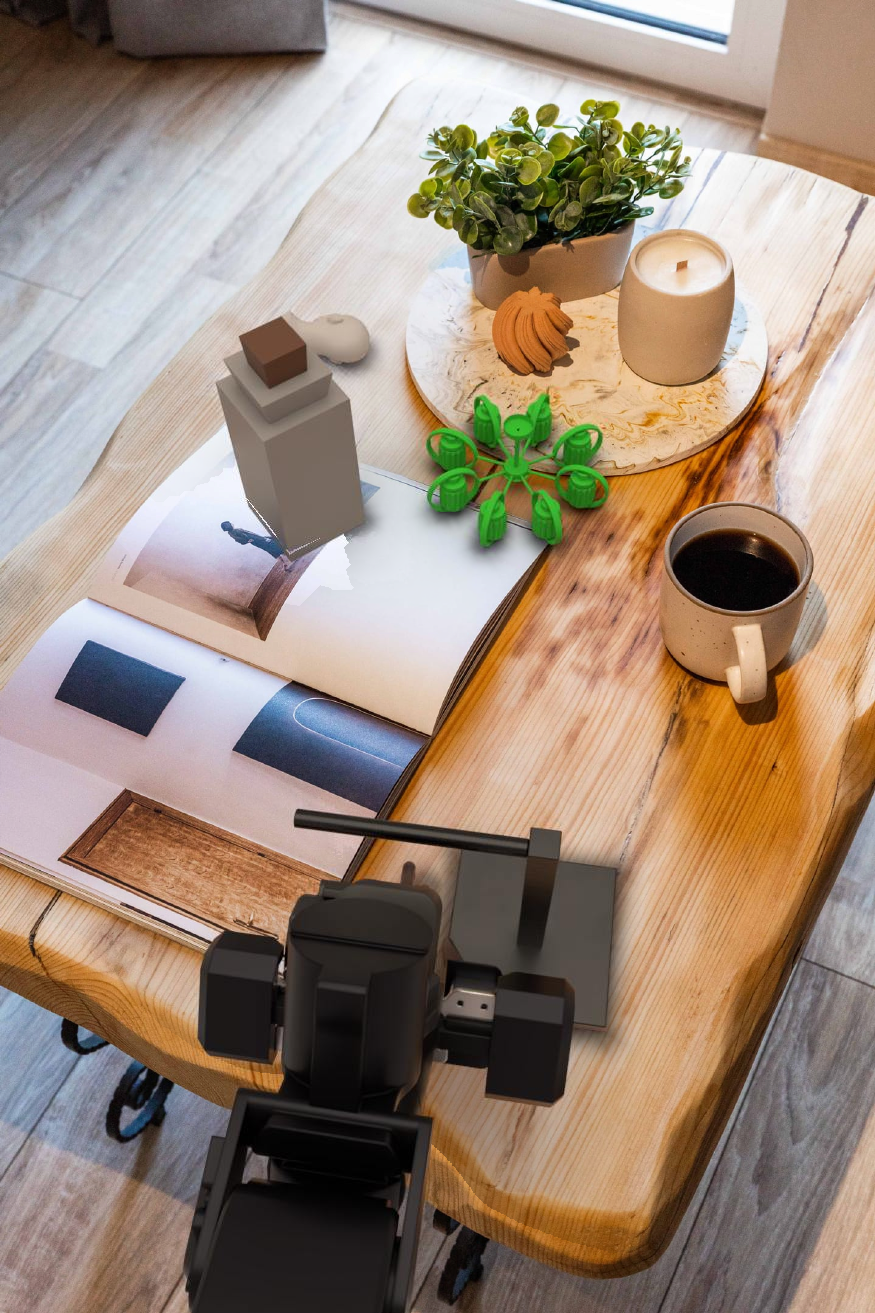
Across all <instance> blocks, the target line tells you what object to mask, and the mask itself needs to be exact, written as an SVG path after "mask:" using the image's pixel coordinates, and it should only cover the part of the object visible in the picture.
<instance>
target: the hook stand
mask: <svg viewBox="0 0 875 1313" xmlns="http://www.w3.org/2000/svg"><path fill="white" fill-rule="evenodd" d="M293 827H294V828H296V829H301V830H303V829H304V830H310V831H316V832H325V833H332V834H339V835H340V834H341V835H349V836H356V837H363V838H370V839H379V840H385V841H393V842H401V843H408V844H415V845H423V846H430V847H438V848H447V849H453V850H460V855H459V863H458V871H457V876H456V883H455V889H454V897H453V903H452V910H451V916H450V924H449V931H448V937H447V938H451V939H452V941H453V943H454V944H455V946H456V948H457V950H458V951H459V953H460V955H461V957H462V958H463V960H464V961H469V962H476V963H483V964H490V965H494V966H496V967H498V968H499V969H500V970H501V972H502V975H505V974H508V973H511V972H514V971H516V972H523V973H530V974H537V975H544V976H551V977H558V978H565V979H566V980H567V981H568V982H569V983H570V985H571V986H572V987H573V988H574V989H575V1014H574V1025H573V1029H574V1028H575V1029H581V1030H586V1031H587V1030H588V1031H594V1032H602V1033H603V1032H605V1030H606V1027H607V1021H608V1007H609V1006H608V1004H609V991H610V979H611V978H610V976H611V963H612V962H611V961H612V948H613V933H614V932H613V931H614V916H615V903H616V891H617V890H616V887H617V873H618V869H617V868H616V867H610V866H602V865H595V864H587V863H580V862H572V861H565V860H560V857H561V846H562V838H563V831H562V830H558V829H550V828H542V827H534V826H531V827H530V829H529V838H528V837H520V836H513V835H505V834H497V833H489V832H481V831H475V830H474V831H473V830H467V829H459V828H458V829H457V828H452V827H451V828H450V827H443V826H436V825H435V826H434V825H427V824H419V823H414V822H413V823H412V822H405V821H397V820H389V819H381V818H374V817H367V816H358V815H350V814H345V813H344V814H342V813H337V812H336V813H335V812H329V811H328V812H327V811H320V810H312V809H305V808H296V809H295V812H294V815H293Z"/></svg>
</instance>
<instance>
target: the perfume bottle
mask: <svg viewBox="0 0 875 1313" xmlns="http://www.w3.org/2000/svg"><path fill="white" fill-rule="evenodd" d="M238 340H239V343H240V344H241V348H242V349H241V350H239V351H237V352H235V353H232V354H230V355H228V356H227V357H224V358H222V361H223V363H224V364H225V366H226V368H227V369H228V371H229V373H230V374H229V375H227V376H225V377H223V378H221V379H219V380H216V381H215V387H216V390H217V393H218V397H219V401H220V405H221V409H222V412H223V417H224V420H225V425H226V428H227V431H228V435H229V440H230V442H231V446H232V450H233V454H234V457H235V461H236V466H237V468H238V473H239V477H240V480H241V484H242V488H243V491H244V495H245V499H246V498H247V499H248V500H249V501H248V500H247V499H246V503H247V506H248V508H249V510H251V512H252V513H253V515H254V516H255V517H256V519H257V520H258V521H259V522H260V524H261V525H262V527H263V528H264V529H265V530H266V531H267V533H268V534H269V535H270V537H271V538H272V539H273V541H274V542H275V543H276V545H277V546H278V547H279V549H280V550H281V551H282V552H283V554H284V555H285V557H286V558H287V559H288V560H289V562H290V563H293V562H295V561H297V560H298V559H300V558H302V557H304V556H306V555H308V554H310V553H312V552H313V551H316V550H317V549H319V548H321V547H322V546H324V545H326V544H328V543H330V542H332V541H333V540H335V539H337V538H339V537H341V536H343V535H345V534H346V533H348V532H351V531H353V530H354V529H356V528H358V527H360V526H361V525H363V524H365V523H366V516H365V507H364V500H363V499H364V498H363V492H362V484H361V476H360V469H359V467H360V466H359V461H358V460H359V459H358V453H357V452H358V451H357V445H356V444H357V443H356V437H355V428H354V422H353V413H352V405H351V398H350V397H349V396H348V395H347V393H345V391H344V390H343V389H342V387H340V386H339V384H338V383H337V382H336V381H335V380H334V379H333V378H332V377H333V374H334V372H333V371H332V370H331V369H330V368H329V366H327V364H326V363H325V362H324V361H323V360H322V359H321V357H319V355H317V354H316V353H315V352H314V351H313V350H312V349H311V348H310V346H309V345H308V344H307V343H306V342H305V341H304V340H303V339H302V337H301V336H300V335H299V334H298V333H297V332H296V331H295V330H294V328H293V327H291V326H290V325H289V324H288V323H287V322H286V321H285V320H284V319H283V317H282V315H280V316H278V317H276V318H273V319H272V320H270V321H268V322H266V323H264V324H262V325H258V326H257V327H255V328H253V329H251V330H249V331H247V332H244V333H242V334H240V335H238ZM249 502H250V503H251V504H252V505H253V506H254V508H255V509H256V510H257V511H258V513H259V514H260V515H261V516H262V517H263V519H264V520H265V521H266V522H267V524H268V525H269V526H270V528H271V529H272V530H273V532H274V533H275V534H276V536H277V537H278V538H279V540H280V541H281V542H282V543H283V545H284V546H285V548H286V549H287V550H288V551H289V552H290V551H293V550H294V549H297V548H299V547H301V546H304V545H306V544H308V543H310V544H308V545H307V546H305V547H303V548H301V549H299V550H297V551H295V552H294V553H292V554H290V555H289V553H288V552H287V551H286V550H285V548H284V547H283V546H282V544H281V543H280V542H279V540H278V539H277V538H276V536H275V535H274V534H273V533H272V531H271V530H270V529H269V527H268V526H267V525H266V523H265V522H264V521H263V520H262V518H261V517H260V516H259V514H258V513H257V512H256V510H255V509H254V508H253V507H252V505H251V504H250V503H249ZM319 538H320V539H319ZM317 539H318V540H317ZM315 540H316V541H315ZM313 541H314V542H313ZM311 542H312V543H311Z"/></svg>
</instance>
